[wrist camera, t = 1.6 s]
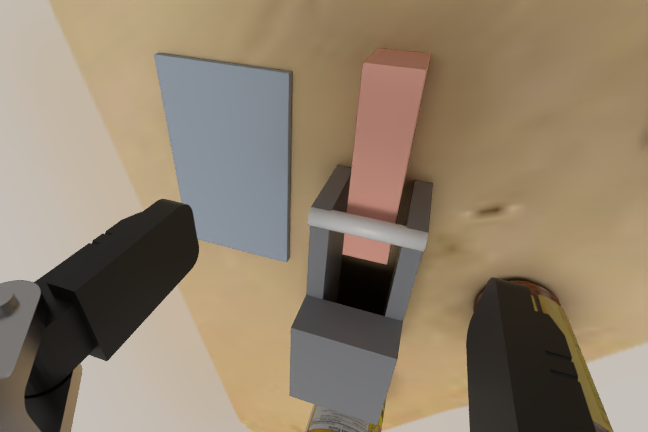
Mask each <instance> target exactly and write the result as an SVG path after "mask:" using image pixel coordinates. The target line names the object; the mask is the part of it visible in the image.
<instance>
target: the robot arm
mask: <svg viewBox="0 0 648 432" xmlns="http://www.w3.org/2000/svg"><path fill="white" fill-rule="evenodd" d="M198 254H199V245H198V239H197V233H196V227H195V221H194V216H193V211H192V208H191V207H190V206H189V205H187V204H183V203H179V202H175V201H171V200H166V199H160V200H158V201H157V202H155V203H154V204H153V205H151V206H150V207H148V208H147V209H146V210H144V211H143V212H140V213H137V214H135V215H133V216H130V217H128V218H125V219H123V220H121V221H120V222H118V223H117V224H115V225H114V226H113V227H111V228H110V229H108V230H107V231H106V233H105V234H101V235H100V236H99V237H97V238H96V239H94V240H93V242H92V244H90V243H89V244H87V245H86V246H85V247H83V248H82V249H80V250H79V251H78V252H76V253H75V254H73V255H72V256H71V257H69V258H68V259H66V260H65V261H64V262H62V263H61V264H59V265H58V266H56V267H55V268H54V269H52V270H51V271H50V272H48V273H47V274H45V275H44V276H43V277H41V278H40V279H38V280H37V281H35V282H34V283H33V282H30V281H24V280H16V281H9V282H4V283H1V284H0V432H71V427H72V423H73V417H74V412H75V407H76V402H77V396H78V391H79V386H80V381H81V376H82V366H81V364H80V363H81V362H82V361H83V360H84V359H85V358H86V357H87V356H88V355H91V356H94V357H97V358H100V359H102V360H105V361H108V360H109V359H110V358H111V356H112V355H113V354H114V353H115V352H116V351H117V350H118V349H119V348H120V347H121V346H122V344H123V343H124V342H125V341H126V340H127V339H128V338H129V337H130V336H131V334H133V332H134V331H135V330H136V329H137V328H138V327H139V326H140V325H141V324H142V322H143V321H144V320H145V319H146V318H147V317H148V316H149V315H150V314H151V313H152V311H154V309H155V308H156V307H157V306H158V305H159V304H160V303H161V302H162V301H163V299H165V297H166V296H167V295H168V294H169V293H170V292H171V291H172V290H173V289H174V287H175V286H176V285H177V284H178V283H179V282H180V281H181V280H182V279H183V278H184V277H185V276H186V274H187V273H188V272H189V271H190V270H191V269H192V268H193V266H194V265H195V263H196V261H197V258H198ZM466 348H467V372H468V396H469V418H470V432H596V429H595V426H594V423H593V420H592V417H591V414H590V411H589V408H588V405H587V402H586V399H585V396H584V392H583V389H582V386H581V383H580V382H578V374H577V371H576V368H575V365H574V362H572V355H571V352H570V349H569V346H568V343H567V340H566V337H565V335H564V333H563V332H562V331H561V330H560V328H559V327H558V326H557V324H556V323H555V322H554V320H553V319H552V318H551V317H550V315H549V314H546V313H542V312H538V311H535V309H534V305H533V302H532V298H531V294H530V290H529V288H528V287H527V286H526V285H522V284H518V283H514V282H509V281H505V280H501V279H497V278H491V279H490V280H489V281H488V283H487V285H486V287H485V289H484V292H483V294H482V296H481V298H480V301H479V303H478V305H477V307H476V309H475V312H474V314H473V316H472V318H471V321H470V324H469V328H468V333H467V342H466Z"/></svg>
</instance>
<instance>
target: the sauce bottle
mask: <svg viewBox="0 0 648 432" xmlns="http://www.w3.org/2000/svg"><path fill="white" fill-rule="evenodd" d="M509 282H514V283H518V284H522V285H526V286H527V287H528V288H529V290H530V294H531V298H532V302H533V305H534V309H535V311H538V312H542V313H546V314H549V315H550V317H551V318H552V319H553V320H554V322H555V323H556V324H557V326H558V327H559V328H560V330H561V331H562V332H563V333H564V335H565V337H566V340H567V343H568V346H569V349H570V352H571V355H572V362H574V365H575V368H576V371H577V374H578V382H580V383H581V386H582V389H583V392H584V396H585V399H586V402H587V405H588V408H589V411H590V414H591V417H592V420H593V423H594V426H595V429H596V432H613V430H612V427H611V425H610V422H609V420H608V417H607V415H606V412H605V410H604V407H603V405H602V402H601V400H600V397H599V394H598V392H597V390H596V387H595V385H594V382H593V380H592V377H591V375H590V372H589V370H588V367H587V365H586V362H585V360H584V357H583V355H582V353H581V350H580V348H579V345H578V343H577V340H576V338H575V335H574V333H573V330H572V328H571V326H570V323H569V321H568V318H567V316H566V314H565V312H564V310H563V309H562V308H561V306H560V303H559V301H558V299H557V298H556V297H555V296H554V294H552V293H551V292H549V291H548V290H547V289H545V288H543V287H541V286H539V285H536V284H533V283H531V282H528V281H520V280H519V281H517V280H513V281H509ZM483 292H484V290H483V291H482V293H480V295H478V298H477V299H476V301H475V304H474V312H475V309H476V307H477V305H478V303H479V301H480V298H481V296H482V294H483Z"/></svg>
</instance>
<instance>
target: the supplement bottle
mask: <svg viewBox="0 0 648 432" xmlns="http://www.w3.org/2000/svg"><path fill="white" fill-rule="evenodd" d="M386 396H387V395H386ZM385 402H386V398H385ZM385 402H384V405H383V408H382V411H381V415H380V418H379V421H378V425H375V424H372V423H369V422H366V421H363V420H360V419H357V418H354V417H351V416H348V415H345V414H342V413H339V412H336V411H333V410H330V409H327V408H324V407H321V406H318V405H315V404H314V405H313V409H312V412H311V415H310V418H309V421H308V424H307V427H306V430H305V432H381V429H382V422H383V415H384V409H385Z"/></svg>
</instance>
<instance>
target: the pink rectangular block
mask: <svg viewBox="0 0 648 432" xmlns="http://www.w3.org/2000/svg"><path fill="white" fill-rule="evenodd" d="M430 57H431V54H429V53H420V52H411V51H401V50H392V49H383V48H379V49H378V50H377V51H376V52H375V53H373V54H372V55H371V56H370V57H369V58H368V59H367V60H366V61H364V62H363V68H362V78H361V87H360V96H359V105H358V114H357V123H356V133H355V142H354V151H353V160H352V169H351V178H350V188H349V197H348V206H347V213H349V214H354V215H359V216H363V217H368V218H372V219H377V220H381V221H386V222H390V223H395V224H396V222H397V217H398V212H399V207H400V202H401V198H402V193H403V188H404V183H405V178H406V173H407V169H408V164H409V159H410V154H411V149H412V144H413V140H414V135H415V130H416V125H417V120H418V115H419V111H420V106H421V101H422V96H423V91H424V86H425V81H426V77H427V72H428V67H429V62H430ZM390 248H391V244H388V243H384V242H380V241H375V240H371V239H367V238H362V237H358V236H354V235H349V234H345V233H344V243H343V252H342V254H343V255H348V256H352V257H356V258H360V259H365V260H369V261H373V262H377V263H382V264H386V265H387V261H388V257H389V253H390Z"/></svg>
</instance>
